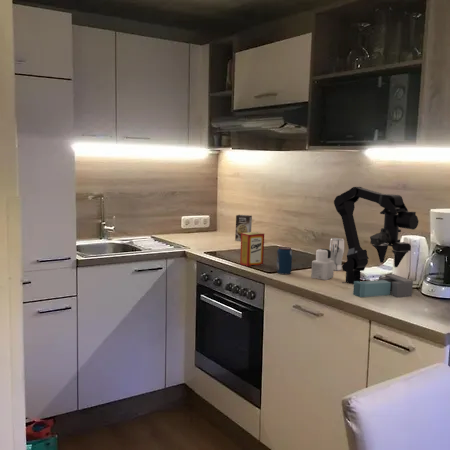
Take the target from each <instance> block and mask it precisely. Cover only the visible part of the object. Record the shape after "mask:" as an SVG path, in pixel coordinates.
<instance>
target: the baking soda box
mask: <svg viewBox="0 0 450 450" xmlns="http://www.w3.org/2000/svg"><path fill="white" fill-rule="evenodd" d="M264 248H265V233H263V232H259V231H251V232H249V233H241V241H240V256H239V257H240V258H239V259H240V260H239V261H240V263H239V264H240V265H241V266H245V265H246V266H245V267H252V266H251V265H256V266H261V265H260V264H263V265H264V256H265V254H264V252H265V249H264Z"/></svg>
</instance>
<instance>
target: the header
mask: <svg viewBox="0 0 450 450" xmlns="http://www.w3.org/2000/svg"><path fill="white" fill-rule="evenodd" d="M378 280H385V281H388V282H391V287H390V296H391V297H395V298H408V297H412V296H413V283H414V281H413V279H412V280H411V279H409V278H407V277H403V276H400V275H397V274H395V273H394V274H393V273H392V274H391V273H390V274H389V273H388V274H385V276H379V277H378Z"/></svg>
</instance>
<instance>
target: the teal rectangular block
mask: <svg viewBox="0 0 450 450" xmlns="http://www.w3.org/2000/svg"><path fill="white" fill-rule="evenodd" d="M390 287H391V282H388V281H385V280H379V279H377V280H365V281H364V280H363V281H361V280H360V282H359V281H354V284H353V289H352V294H353V296H356V297H359V298H364V297H379V296H391V292H390Z"/></svg>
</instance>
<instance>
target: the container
mask: <svg viewBox="0 0 450 450" xmlns="http://www.w3.org/2000/svg"><path fill="white" fill-rule="evenodd" d="M315 252H316V253H315V259H314V260H312V261H311V274H310V277H311V279H316V278H317V280H322V281H328V280H330V279H332V278H334V272H335V270H334V261H332V260H330V259H331V251H330V249H328V248H318V249H316V251H315Z"/></svg>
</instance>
